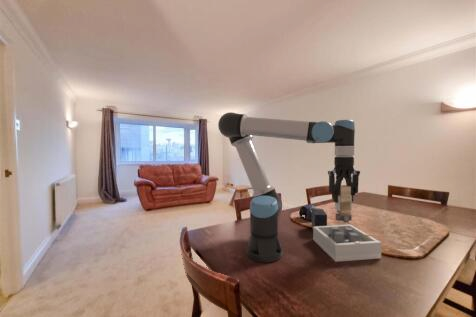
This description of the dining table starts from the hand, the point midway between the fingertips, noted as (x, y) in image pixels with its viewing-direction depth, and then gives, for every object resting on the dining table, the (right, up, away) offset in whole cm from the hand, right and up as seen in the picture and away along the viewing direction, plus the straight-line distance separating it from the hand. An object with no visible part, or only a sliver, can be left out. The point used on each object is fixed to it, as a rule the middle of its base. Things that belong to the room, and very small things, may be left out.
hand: (343, 209), depth 88 cm
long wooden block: (0, -5, 0) cm, 5 cm away
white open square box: (+1, -17, +1) cm, 17 cm away
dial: (+1, -15, 0) cm, 15 cm away
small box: (-2, -17, +20) cm, 26 cm away
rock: (-1, -16, +38) cm, 41 cm away
